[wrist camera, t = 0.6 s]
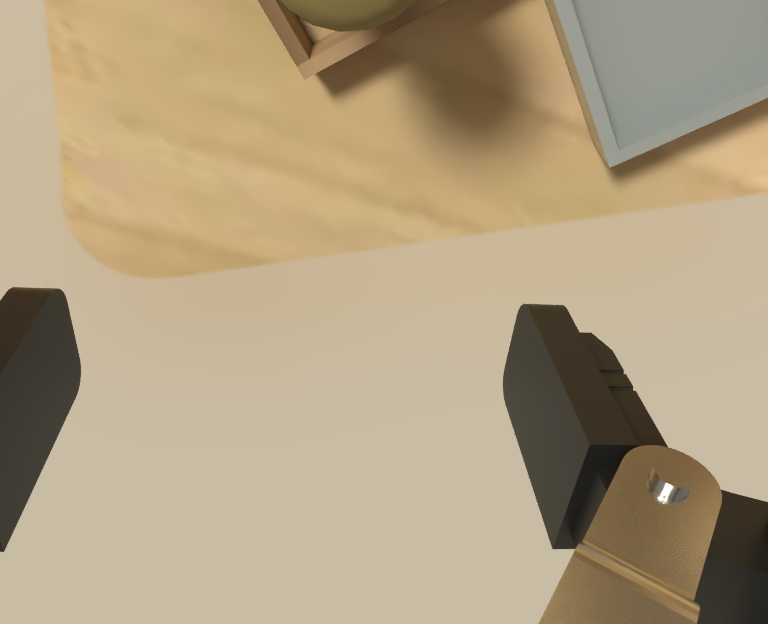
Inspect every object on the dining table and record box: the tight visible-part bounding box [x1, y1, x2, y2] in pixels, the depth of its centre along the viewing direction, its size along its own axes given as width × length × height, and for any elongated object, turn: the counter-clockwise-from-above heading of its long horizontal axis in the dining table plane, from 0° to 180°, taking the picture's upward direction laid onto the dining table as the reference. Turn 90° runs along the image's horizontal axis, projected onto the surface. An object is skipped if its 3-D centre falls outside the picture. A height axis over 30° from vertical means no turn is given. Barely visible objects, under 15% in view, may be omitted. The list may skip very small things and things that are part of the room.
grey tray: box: [545, 0, 768, 168], centre depth 27 cm, size 10×10×2 cm
